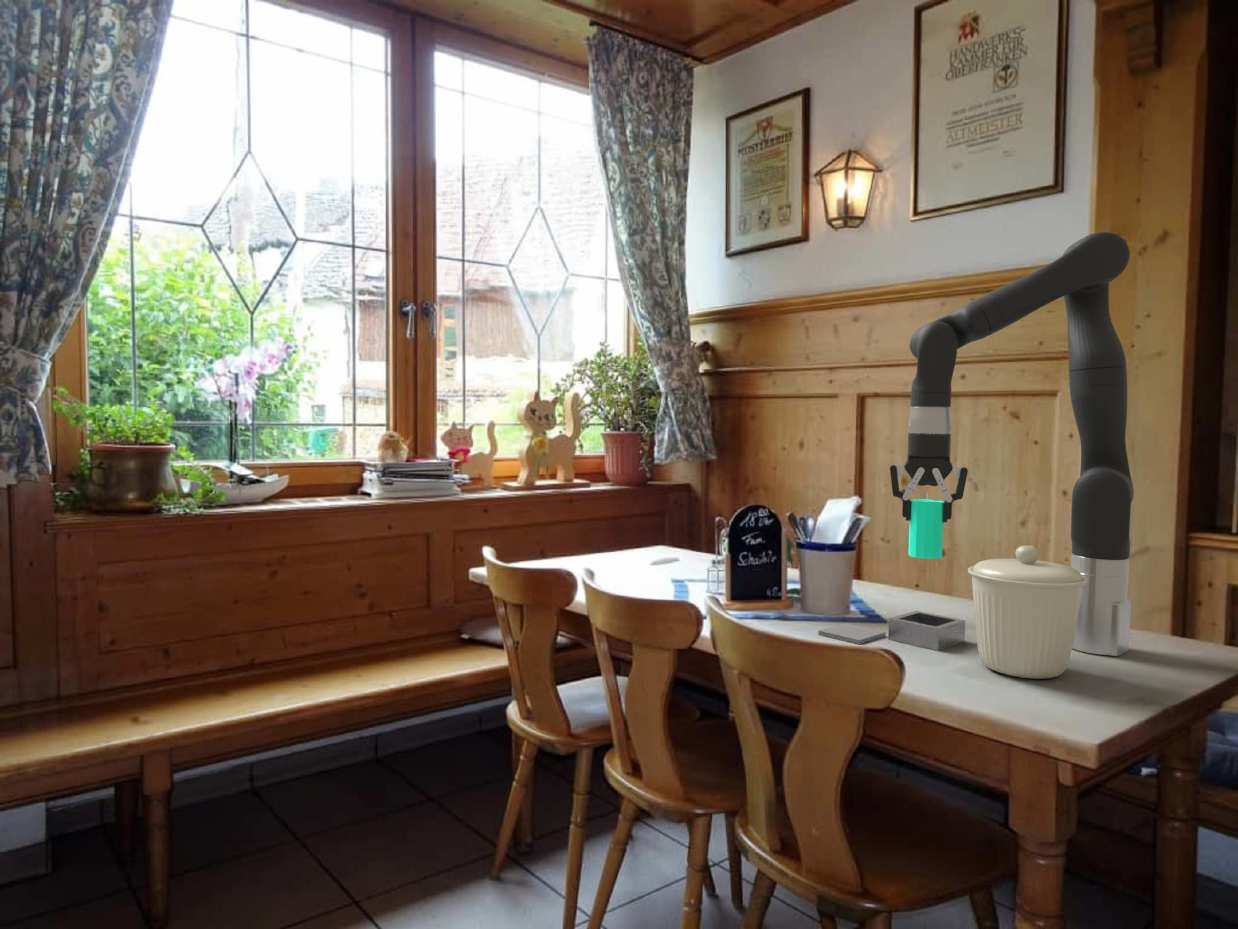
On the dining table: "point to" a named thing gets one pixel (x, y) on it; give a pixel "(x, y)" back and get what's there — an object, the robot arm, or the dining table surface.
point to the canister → (1026, 614)
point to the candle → (926, 528)
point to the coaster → (852, 633)
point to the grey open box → (926, 630)
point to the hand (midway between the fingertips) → (926, 520)
